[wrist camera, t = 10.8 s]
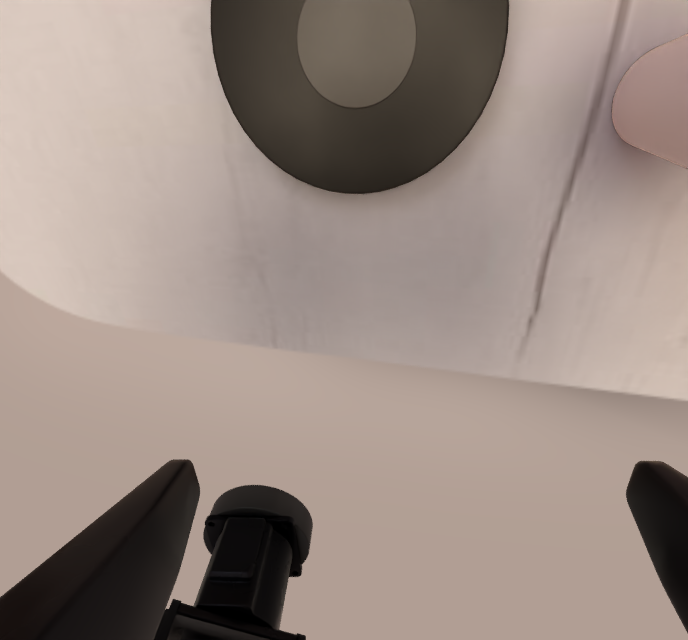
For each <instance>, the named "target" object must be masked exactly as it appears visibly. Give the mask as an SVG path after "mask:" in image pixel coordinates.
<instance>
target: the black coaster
mask: <svg viewBox="0 0 688 640" xmlns="http://www.w3.org/2000/svg"><path fill="white" fill-rule="evenodd" d="M508 17H509V0H211V36H212V45H213V54H214V58H215V63H216V67H217V71H218V76H219V79H220V82H221V84H222V87H223V90H224V93H225V96H226V98H227V100H228V102H229V105H230V107H231V109H232V111H233V113H234V115H235V117H236V118H237V120H238V122H239V123H240V125H241V127H242V128H243V130H244V131H245V133H246V134H247V135H248V137H249V138H250V139H251V140H252V142H253V143H254V144H255V146H256V147H257V148H258V149H259V150H260V151H261V152H262V153H263V154H264V155H265V156H266V157H267V158H268V159H269V160H270V161H272V162H273V163H274V164H275V165H277V166H278V167H279V168H281V169H282V170H283V171H285V172H286V173H288V174H290V175H291V176H293V177H295V178H296V179H298V180H300V181H302V182H305V183H307V184H309V185H311V186H314V187H317V188H321V189H324V190H328V191H332V192H339V193H345V194H365V193H374V192H380V191H384V190H388V189H392V188H396V187H398V186H401V185H403V184H406V183H408V182H411V181H413V180H415V179H416V178H418V177H420V176H422V175H424V174H425V173H427V172H428V171H430V170H431V169H433V168H434V167H435V166H437V165H438V164H439V163H441V162H442V161H443V160H444V159H445V158H446V157H447V156H449V155H450V154H451V153H452V152H453V151H454V150H455V149H456V148H457V147H458V146H459V144H460V143H461V142H462V141H463V140H464V138H465V137H466V136H467V135H468V134H469V132H470V131H471V129H472V128H473V126H474V125H475V123H476V122H477V120H478V119H479V117H480V116H481V114H482V112H483V110H484V108H485V106H486V104H487V102H488V100H489V99H490V96H491V94H492V91H493V89H494V86H495V84H496V81H497V78H498V76H499V72H500V68H501V64H502V61H503V57H504V53H505V46H506V40H507V33H508Z"/></svg>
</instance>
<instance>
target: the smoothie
mask: <svg viewBox="0 0 688 640" xmlns="http://www.w3.org/2000/svg"><path fill="white" fill-rule="evenodd" d="M612 120H613V124H614V127H615V130H616V131H617V133H618V135H619V136H620V137H621V138H622V139H623V140H624V141H625V142H626V143H628V144H630V145H632V146H634V147H637V148H639V149H641V150H644V151H646V152H649V153H651V154H653V155H656V156H658V157H661V158H663V159H665V160H668V161H670V162H672V163H675V164H677V165H680V166H682V167H684V168H687V169H688V34H686V35H683V36H681V37H679V38H676V39H674V40H672V41H670V42H667V43H665V44H663V45H661V46H658V47H656V48H654V49H652V50H650V51H649V52H647V53H646V54H644V55H643V56H642V57H640V58H639V59H638V60H637V61H636V62H635V63H634V64H633V65H632V66H631V67H630V68H629V69H628V71H627V72H626V73H625V75H624V76H623V78H622V80H621V81H620V83H619V85H618V87H617V90H616V92H615V95H614V99H613V104H612Z"/></svg>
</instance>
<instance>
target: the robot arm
mask: <svg viewBox="0 0 688 640" xmlns="http://www.w3.org/2000/svg"><path fill="white" fill-rule="evenodd" d="M199 496H200V487H199V483H198V479H197V476H196V473H195V469H194V466H193V464H192V462H191V461H190V460H171V461H169V462H167V463H166V464H165V465H164V466H162V467H161V468H160V469H159V470H158V471H156V472H155V473H154V474H152V475H151V476H150V477H149V478H147V479H146V480H145V481H144V482H143V483H141V484H140V485H139V486H138V487H136V488H135V489H134V490H133V491H132V492H130V493H129V494H128V495H126V496H125V497H124V498H123V499H121V500H120V501H119V502H118V503H117V504H115V505H114V506H113V507H112V508H110V509H109V510H108V511H107V512H105V513H104V514H103V515H102V516H100V517H99V518H98V519H97V520H95V521H94V522H93V523H92V524H90V525H89V526H88V527H87V528H86V529H84V530H83V531H82V532H81V533H80V534H78V535H77V536H76V537H74V538H73V539H72V540H71V541H69V542H68V543H67V544H66V545H64V546H63V547H62V548H61V549H60V550H58V551H57V552H56V553H55V554H53V555H52V556H51V557H50V558H48V559H47V560H46V561H45V562H44V563H42V564H41V565H40V566H39V567H37V568H36V569H35V570H34V571H32V572H31V573H30V574H29V575H27V576H26V577H25V578H24V579H22V580H21V581H20V582H19V583H17V584H16V585H15V586H14V587H12V588H11V589H10V590H9V591H7V592H6V593H5V594H4V595H3V596H1V597H0V640H306V636H305V635H301V634H297V635H295V634H291V633H288V632H284V631H281V630H279V627H280V622H281V616H282V611H283V605H284V600H285V594H286V589H287V582H288V578H289V577H299V576H301V574H302V563H301V557H300V551H299V545H298V539H297V533H296V527H295V521H294V519H293V518H292V517H290V516H266V515H209V516H207V518H206V520H205V527H206V530H207V533H208V536H209V539H210V543H211V546H212V549H213V553H212V556H211V559H210V562H209V565H208V567H207V570H206V573H205V576H204V579H203V581H202V584H201V587H200V589H199V593H198V595H197V598H196V601H195V603H194V606H190V605H187V604H183V603H181V601H179V600H175V599H173V601H172V603H171V605H170V608H169V609H166V610H165V608H166V606H167V603H168V600H169V598H170V595H171V592H172V590H173V587H174V584H175V581H176V579H177V576H178V573H179V570H180V567H181V563H182V560H183V556H184V553H185V549H186V545H187V541H188V538H189V534H190V530H191V527H192V523H193V519H194V516H195V512H196V508H197V504H198V501H199ZM626 498H627V502H628V504H629V507H630V509H631V512H632V514H633V517H634V519H635V521H636V524H637V526H638V529H639V531H640V533H641V536H642V538H643V540H644V543H645V545H646V548H647V550H648V553H649V555H650V557H651V560H652V562H653V565H654V567H655V570H656V572H657V574H658V576H659V578H660V581H661V583H662V585H663V587H664V589H665V591H666V593H667V595H668V597H669V598H670V600H671V603H672V604H673V606H674V608H675V610H676V612H677V614H678V616H679V618H680V619H681V621H682V623H683V625H684V627H685V629H686V631H687V633H688V477H687V476H685V475H683V474H682V473H680V472H679V471H677V470H675V469H674V468H672V467H671V466H669V465H667V464H666V463H664V462H661V461H640V462H638V463H637V464H636V465H635V467H634V470H633V472H632V475H631V478H630V481H629V484H628V487H627V490H626Z"/></svg>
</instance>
